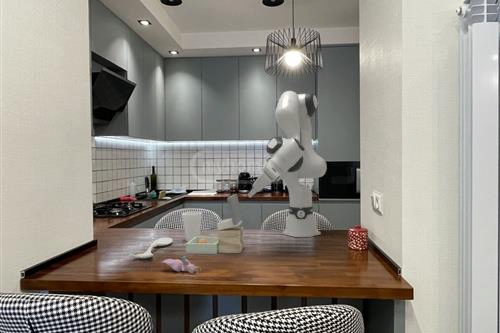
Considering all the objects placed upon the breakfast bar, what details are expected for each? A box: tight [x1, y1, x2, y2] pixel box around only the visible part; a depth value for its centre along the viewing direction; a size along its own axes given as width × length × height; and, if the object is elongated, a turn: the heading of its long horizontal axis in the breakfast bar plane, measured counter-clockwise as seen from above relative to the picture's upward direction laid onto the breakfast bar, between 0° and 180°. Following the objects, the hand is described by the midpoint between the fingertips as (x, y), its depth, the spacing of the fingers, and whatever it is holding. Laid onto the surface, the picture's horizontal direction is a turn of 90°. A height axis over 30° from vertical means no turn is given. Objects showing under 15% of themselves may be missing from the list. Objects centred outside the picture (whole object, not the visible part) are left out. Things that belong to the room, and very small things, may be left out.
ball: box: [198, 239, 207, 244], centre depth 148 cm, size 4×4×4 cm
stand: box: [217, 226, 244, 254], centre depth 146 cm, size 9×9×9 cm
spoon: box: [128, 236, 174, 259], centre depth 147 cm, size 9×32×4 cm, turn 176°
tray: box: [185, 236, 218, 255], centre depth 148 cm, size 13×13×4 cm
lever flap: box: [216, 193, 243, 231], centre depth 146 cm, size 9×14×12 cm, turn 171°
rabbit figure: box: [160, 255, 202, 275], centre depth 120 cm, size 6×6×15 cm
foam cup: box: [181, 211, 203, 242], centre depth 166 cm, size 10×9×13 cm
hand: (250, 195), depth 144 cm, fingers open, 8 cm apart
